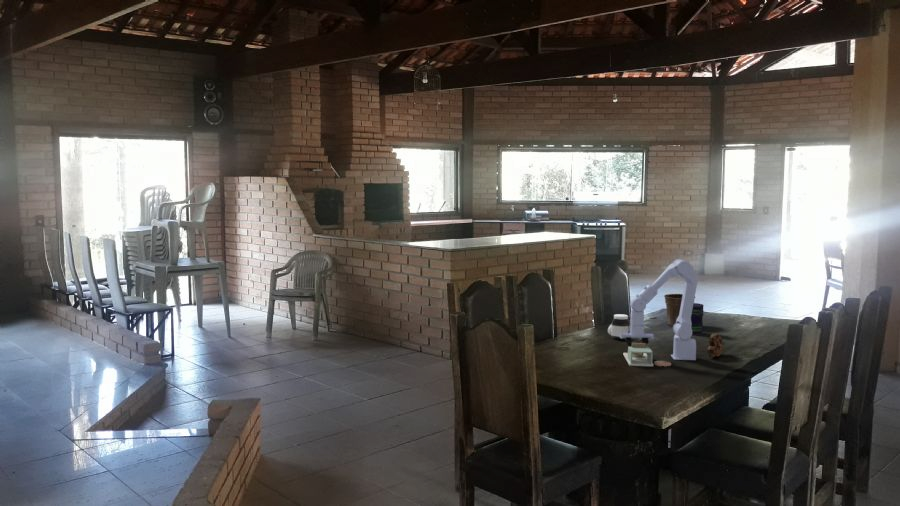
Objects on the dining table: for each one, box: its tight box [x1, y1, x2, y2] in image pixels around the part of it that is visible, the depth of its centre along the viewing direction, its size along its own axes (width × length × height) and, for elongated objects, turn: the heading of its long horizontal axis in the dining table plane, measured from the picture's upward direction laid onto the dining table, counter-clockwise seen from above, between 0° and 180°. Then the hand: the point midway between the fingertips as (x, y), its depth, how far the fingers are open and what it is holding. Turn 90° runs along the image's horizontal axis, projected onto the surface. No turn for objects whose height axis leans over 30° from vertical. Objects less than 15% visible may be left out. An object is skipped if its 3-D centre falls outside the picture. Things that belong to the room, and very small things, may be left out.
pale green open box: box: [627, 342, 653, 364], centre depth 316 cm, size 9×9×7 cm
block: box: [632, 353, 643, 358], centre depth 327 cm, size 4×4×5 cm
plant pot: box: [663, 293, 696, 327], centre depth 398 cm, size 16×16×16 cm
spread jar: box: [607, 313, 631, 341], centre depth 367 cm, size 12×11×12 cm
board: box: [623, 352, 654, 367], centre depth 322 cm, size 10×20×1 cm, turn 174°
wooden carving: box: [707, 333, 725, 358], centre depth 329 cm, size 16×5×10 cm, turn 148°
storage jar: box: [691, 302, 705, 336], centre depth 378 cm, size 10×10×15 cm
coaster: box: [653, 360, 672, 367], centre depth 315 cm, size 7×7×1 cm
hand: (636, 354), depth 327 cm, fingers closed on block, 4 cm apart
